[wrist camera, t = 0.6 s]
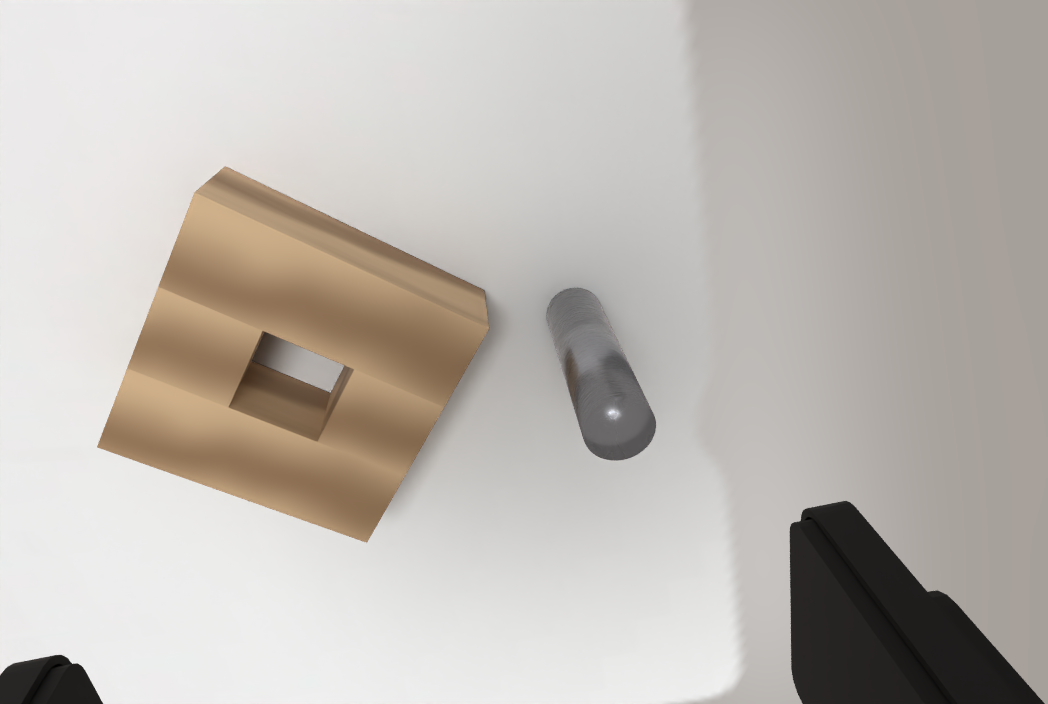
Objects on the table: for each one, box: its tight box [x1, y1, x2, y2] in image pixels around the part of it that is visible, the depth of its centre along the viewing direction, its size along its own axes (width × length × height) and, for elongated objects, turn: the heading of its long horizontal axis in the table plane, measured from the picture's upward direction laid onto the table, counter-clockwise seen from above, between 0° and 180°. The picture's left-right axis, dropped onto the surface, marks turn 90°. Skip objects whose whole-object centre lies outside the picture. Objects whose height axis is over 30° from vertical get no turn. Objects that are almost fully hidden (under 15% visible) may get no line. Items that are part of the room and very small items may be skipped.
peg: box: [547, 288, 656, 460], centre depth 36 cm, size 3×3×12 cm
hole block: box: [97, 167, 489, 543], centre depth 39 cm, size 14×14×5 cm
